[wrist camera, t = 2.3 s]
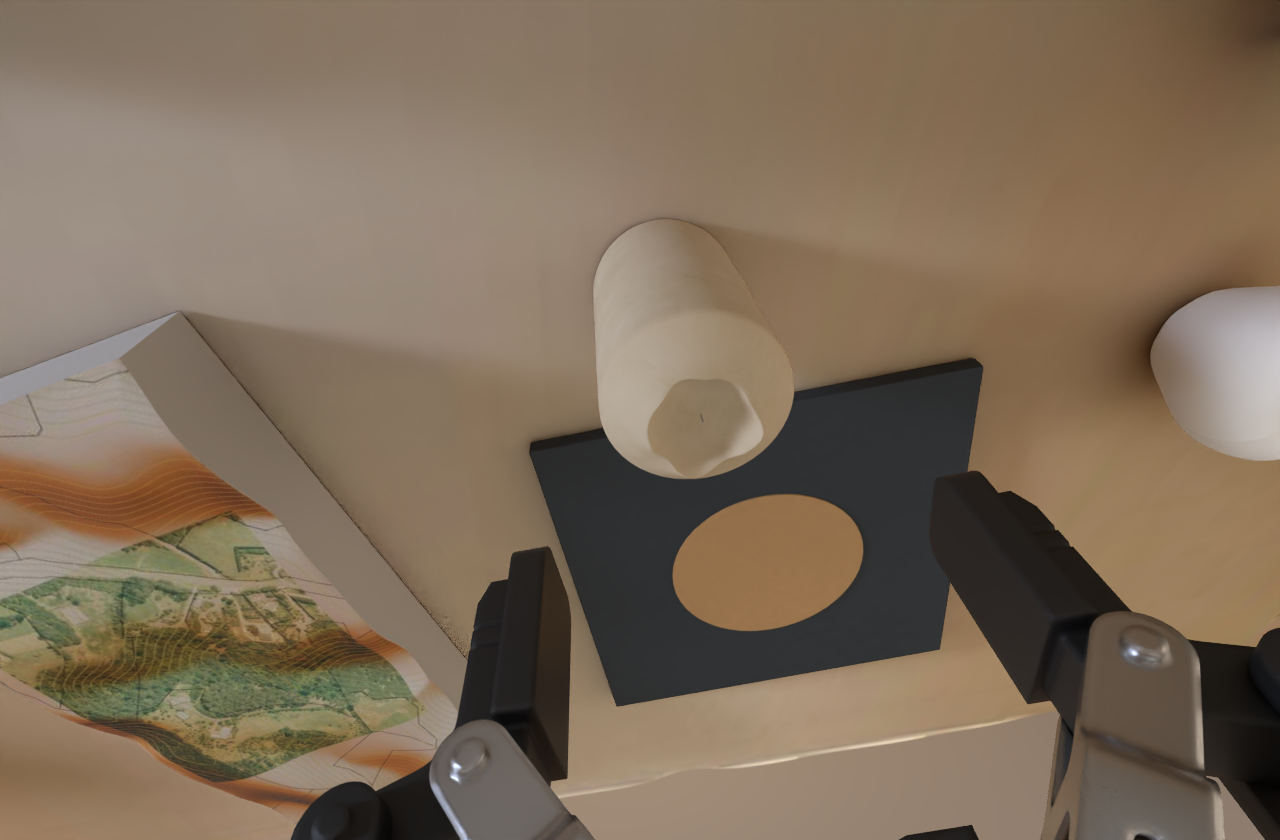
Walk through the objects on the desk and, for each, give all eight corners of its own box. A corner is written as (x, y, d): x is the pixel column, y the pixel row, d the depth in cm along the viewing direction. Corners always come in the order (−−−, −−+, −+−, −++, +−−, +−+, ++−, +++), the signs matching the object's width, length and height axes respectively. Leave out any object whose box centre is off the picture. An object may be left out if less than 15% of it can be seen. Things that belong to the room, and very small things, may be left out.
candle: (751, 233, 24) (844, 357, 15) (709, 360, 27) (769, 522, 18) (608, 202, 23) (625, 318, 14) (581, 338, 26) (582, 499, 17)
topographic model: (-134, 428, 25) (-274, 512, 21) (179, 311, 24) (94, 377, 19) (312, 775, 42) (283, 860, 37) (515, 719, 40) (508, 803, 36)
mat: (616, 695, 39) (616, 708, 39) (530, 442, 28) (528, 454, 27) (934, 638, 39) (941, 651, 38) (974, 357, 28) (985, 367, 27)
